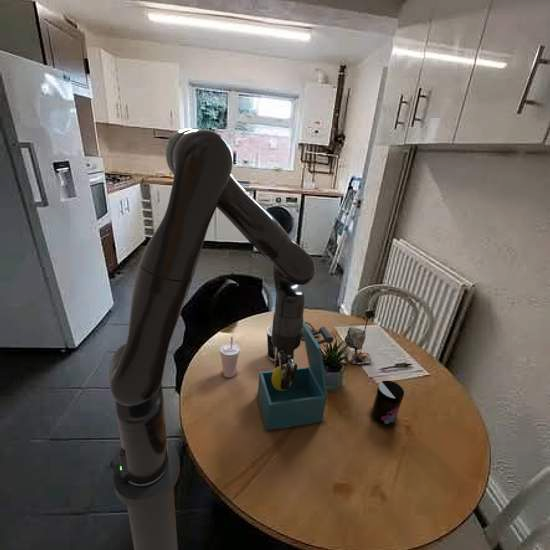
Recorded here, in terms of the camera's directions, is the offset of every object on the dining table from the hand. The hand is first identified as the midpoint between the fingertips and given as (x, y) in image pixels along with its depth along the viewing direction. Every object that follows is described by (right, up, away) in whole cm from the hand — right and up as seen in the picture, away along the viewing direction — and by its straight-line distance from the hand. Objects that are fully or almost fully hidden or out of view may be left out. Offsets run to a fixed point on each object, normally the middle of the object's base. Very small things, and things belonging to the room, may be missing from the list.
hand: (281, 379), depth 84 cm
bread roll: (+10, +5, +42) cm, 44 cm away
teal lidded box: (+2, -10, +5) cm, 11 cm away
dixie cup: (-2, -1, +26) cm, 26 cm away
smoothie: (-17, -4, +16) cm, 23 cm away
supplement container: (+29, -12, +5) cm, 32 cm away
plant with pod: (+28, -2, +29) cm, 40 cm away
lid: (+8, +6, 0) cm, 10 cm away
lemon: (0, -3, +1) cm, 4 cm away
